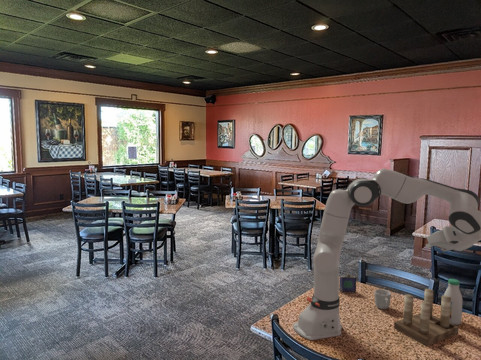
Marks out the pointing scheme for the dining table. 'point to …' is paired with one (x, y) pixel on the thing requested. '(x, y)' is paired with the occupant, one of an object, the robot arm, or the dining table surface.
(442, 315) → the loose leg
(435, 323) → the stool
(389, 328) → the dining table surface
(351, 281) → the flask
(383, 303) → the cup
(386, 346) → the dining table surface
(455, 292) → the milk bottle
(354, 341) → the dining table surface
